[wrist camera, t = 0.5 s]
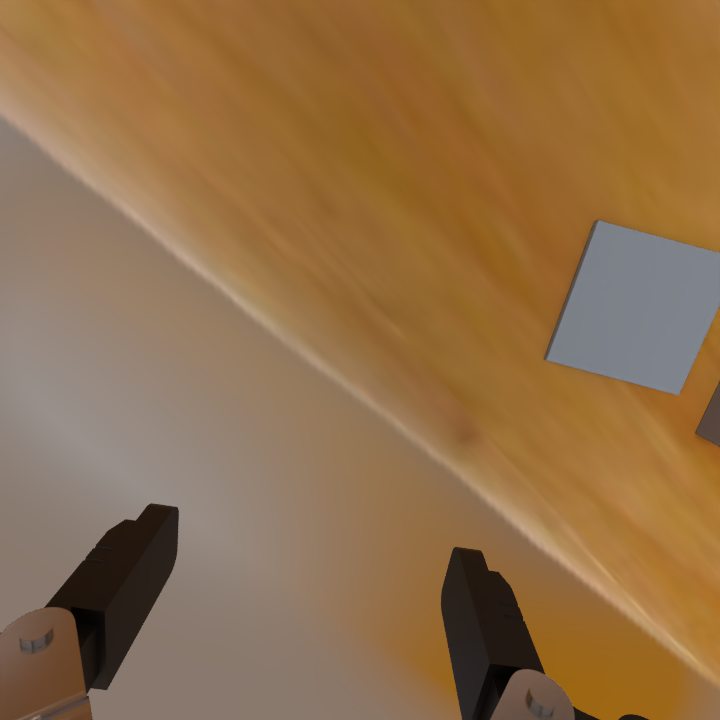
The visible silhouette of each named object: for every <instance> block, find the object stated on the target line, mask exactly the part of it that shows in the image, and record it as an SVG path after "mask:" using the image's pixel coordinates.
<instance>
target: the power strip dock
mask: <svg viewBox="0 0 720 720" xmlns="http://www.w3.org/2000/svg"><path fill="white" fill-rule="evenodd" d="M696 434H698V435H700V436H701V437H703V438H705V439H707V440H708V441H710V442H712V443H714V444H715V445H717V446H719V447H720V382H719V384H718V386H717V389H716V391H715V393H714V395H713V397H712V399H711V401H710V403H709V405H708V408H707V410H706V412H705V414H704V416H703V418H702V420H701V422H700V424H699V427H698V429H697V431H696Z"/></svg>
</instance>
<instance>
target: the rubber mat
mask: <svg viewBox="0 0 720 720" xmlns="http://www.w3.org/2000/svg"><path fill="white" fill-rule="evenodd" d="M719 305H720V253H718V252H714V251H710V250H707V249H703V248H699V247H696V246H692V245H688V244H684V243H681V242H677V241H673V240H670V239H666V238H662V237H658V236H655V235H651V234H647V233H644V232H640V231H636V230H632V229H629V228H625V227H621V226H618V225H614V224H610V223H606V222H603V221H599V220H598V221H595V222H594V225H593V228H592V230H591V233H590V236H589V238H588V241H587V244H586V247H585V249H584V252H583V255H582V257H581V260H580V263H579V265H578V268H577V271H576V274H575V276H574V279H573V282H572V284H571V287H570V290H569V293H568V295H567V298H566V301H565V303H564V306H563V309H562V311H561V314H560V317H559V320H558V322H557V325H556V328H555V330H554V333H553V336H552V339H551V341H550V344H549V347H548V349H547V352H546V355H545V357H544V359H545V360H547V361H551V362H554V363H558V364H562V365H566V366H570V367H573V368H577V369H581V370H585V371H588V372H592V373H596V374H600V375H604V376H607V377H611V378H615V379H619V380H623V381H626V382H630V383H634V384H638V385H642V386H645V387H649V388H653V389H657V390H661V391H664V392H668V393H672V394H676V395H679V393H680V391H681V389H682V387H683V385H684V382H685V380H686V378H687V376H688V374H689V371H690V369H691V367H692V365H693V363H694V360H695V358H696V356H697V354H698V352H699V349H700V347H701V345H702V343H703V341H704V338H705V336H706V334H707V332H708V330H709V327H710V325H711V323H712V321H713V319H714V316H715V314H716V312H717V310H718V308H719Z"/></svg>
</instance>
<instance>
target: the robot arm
mask: <svg viewBox="0 0 720 720" xmlns="http://www.w3.org/2000/svg"><path fill="white" fill-rule="evenodd" d="M178 518H179V511H178V508H177V507H172V506H166V505H159V504H149V505H148V506H147V507H146V508H145V510H144V511H143V512H142V513H141V515H140V516H139V517H138V519H137V520H136V521H134V520H124V521H122V522H121V523H119V524H118V525H116V526H115V527H113V528H111V529H110V530H108V531H107V532H106V534H105V535H104V536H103V537H102V539H101V540H100V541H99V542H98V543H97V545H96V547H95V548H94V549H92V551H91V552H90V553H89V554H88V556H87V557H86V559H85V561H82V563H81V564H80V565H79V566H78V567H77V569H76V570H75V571H74V572H73V574H72V575H71V576H70V577H69V578H68V580H67V581H66V582H65V583H64V585H63V586H62V587H61V588H60V589H59V590H58V592H57V593H56V594H55V595H54V597H53V598H52V599H51V600H50V602H49V603H48V604H47V605H46V606H45V607H44V608H41V609H38V610H34V611H32V612H29V613H27V614H25V615H23V616H21V617H19V618H18V619H16V620H15V621H13V622H12V623H11V624H9V625H8V626H7V627H6V628H5V629H4V631H3V632H1V633H0V720H93V719H92V712H91V707H90V701H89V697H88V696H87V693H88V692H89V690H90V688H94V689H102V690H107V689H108V687H109V685H110V683H111V682H112V680H113V678H114V676H115V674H116V672H117V671H118V669H119V667H120V665H121V663H122V662H123V660H124V658H125V656H126V654H127V652H128V651H129V649H130V647H131V645H132V643H133V642H134V640H135V638H136V636H137V634H138V633H139V631H140V629H141V627H142V625H143V623H144V622H145V620H146V618H147V616H148V614H149V613H150V611H151V609H152V607H153V605H154V603H155V602H156V600H157V598H158V596H159V594H160V593H161V591H162V589H163V587H164V585H165V583H166V581H167V580H168V578H169V576H170V574H171V572H172V570H173V567H174V564H175V560H176V556H177V544H178ZM441 609H442V616H443V621H444V627H445V632H446V637H447V642H448V648H449V653H450V658H451V663H452V669H453V674H454V679H455V684H456V689H457V695H458V700H459V705H460V711H461V716H462V720H599V719H597V718H595V717H593V716H590V715H588V714H586V713H584V712H582V711H580V710H578V709H576V708H575V707H573V706H572V703H571V702H570V699H569V698H568V696H567V695H566V693H565V692H564V691H563V689H562V688H561V687H560V686H559V685H558V684H557V683H556V682H555V681H554V680H552V679H551V678H549V677H548V676H546V675H545V673H544V670H543V667H542V665H541V662H540V659H539V657H538V654H537V652H536V649H535V647H534V645H533V642H532V639H531V637H530V634H529V631H528V629H527V626H526V624H525V622H524V621H523V616H522V614H521V611H520V608H519V607H518V603H517V601H516V598H515V596H514V593H513V591H512V588H511V587H510V585H509V584H508V583H507V582H506V581H505V579H504V578H503V577H502V576H501V575H500V573H499V572H495V571H489V570H488V567H487V564H486V562H485V559H484V556H483V553H482V552H481V551H480V550H474V549H467V548H459V547H455V548H454V549H453V551H452V554H451V558H450V561H449V565H448V569H447V573H446V576H445V580H444V584H443V588H442V594H441ZM619 720H648V719H646V718H644V717H641V716H638V715H632V714H631V715H630V714H629V715H624V716H622V717H621V718H620V719H619Z"/></svg>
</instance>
